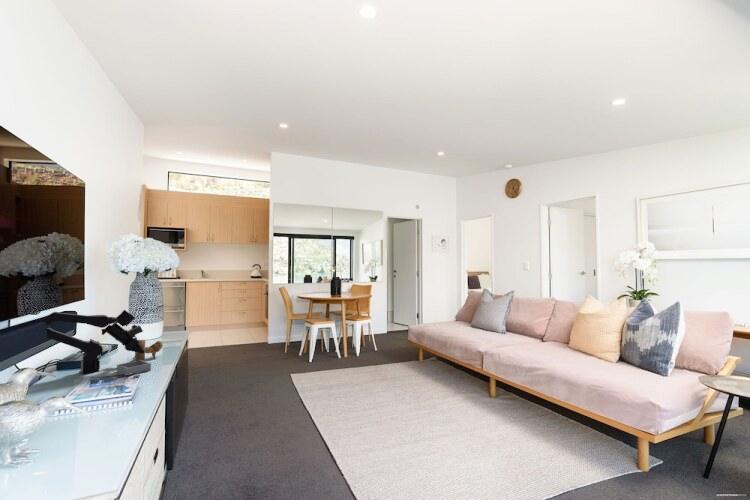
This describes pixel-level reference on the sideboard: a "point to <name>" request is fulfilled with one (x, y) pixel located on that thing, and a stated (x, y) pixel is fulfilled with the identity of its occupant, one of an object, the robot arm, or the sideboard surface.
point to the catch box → (133, 367)
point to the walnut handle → (139, 355)
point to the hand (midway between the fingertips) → (143, 351)
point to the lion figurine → (154, 348)
